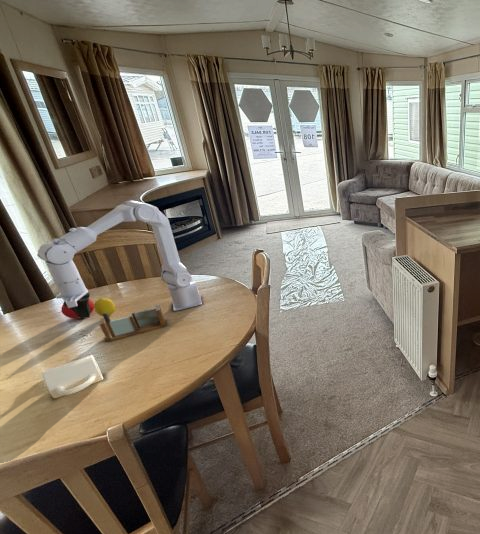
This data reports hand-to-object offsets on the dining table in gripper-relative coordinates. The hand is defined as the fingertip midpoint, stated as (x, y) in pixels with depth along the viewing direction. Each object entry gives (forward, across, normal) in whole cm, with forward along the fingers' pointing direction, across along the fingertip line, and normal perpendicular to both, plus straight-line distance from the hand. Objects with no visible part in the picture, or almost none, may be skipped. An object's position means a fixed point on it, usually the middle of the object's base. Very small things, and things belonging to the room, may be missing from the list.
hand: (85, 316), depth 111 cm
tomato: (+11, -25, -6) cm, 28 cm away
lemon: (+11, -19, +2) cm, 22 cm away
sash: (+10, 0, +7) cm, 12 cm away
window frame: (+10, -1, +10) cm, 15 cm away
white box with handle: (+11, +26, -2) cm, 28 cm away
